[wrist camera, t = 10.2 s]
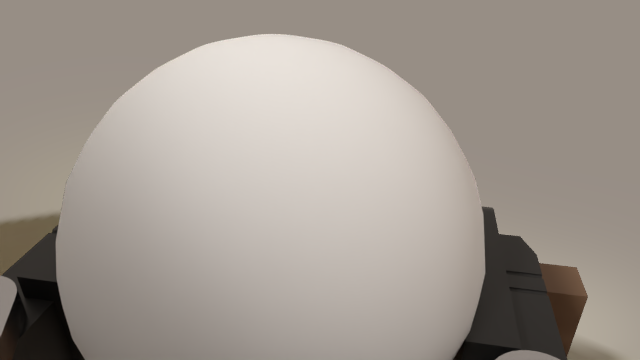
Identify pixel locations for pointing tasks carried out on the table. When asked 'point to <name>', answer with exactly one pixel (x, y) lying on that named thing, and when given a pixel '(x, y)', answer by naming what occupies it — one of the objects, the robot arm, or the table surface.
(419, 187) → the lightbulb
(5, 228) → the table surface
